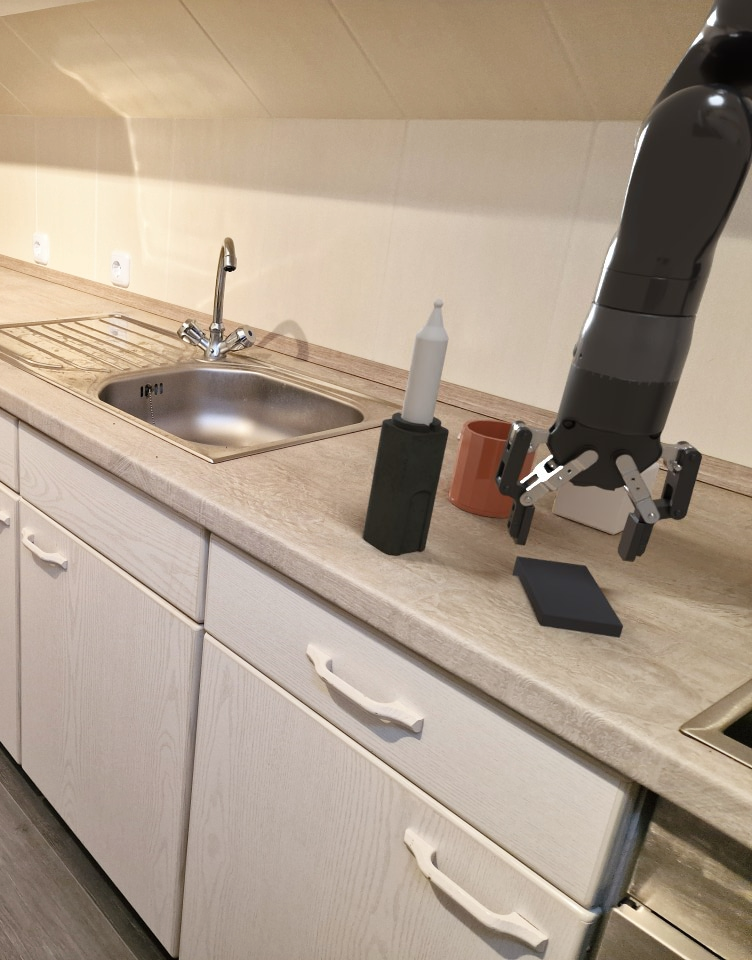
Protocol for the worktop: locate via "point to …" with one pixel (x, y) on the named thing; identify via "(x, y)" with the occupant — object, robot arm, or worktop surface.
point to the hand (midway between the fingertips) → (571, 549)
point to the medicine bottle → (599, 503)
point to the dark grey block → (566, 597)
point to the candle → (410, 452)
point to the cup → (483, 469)
